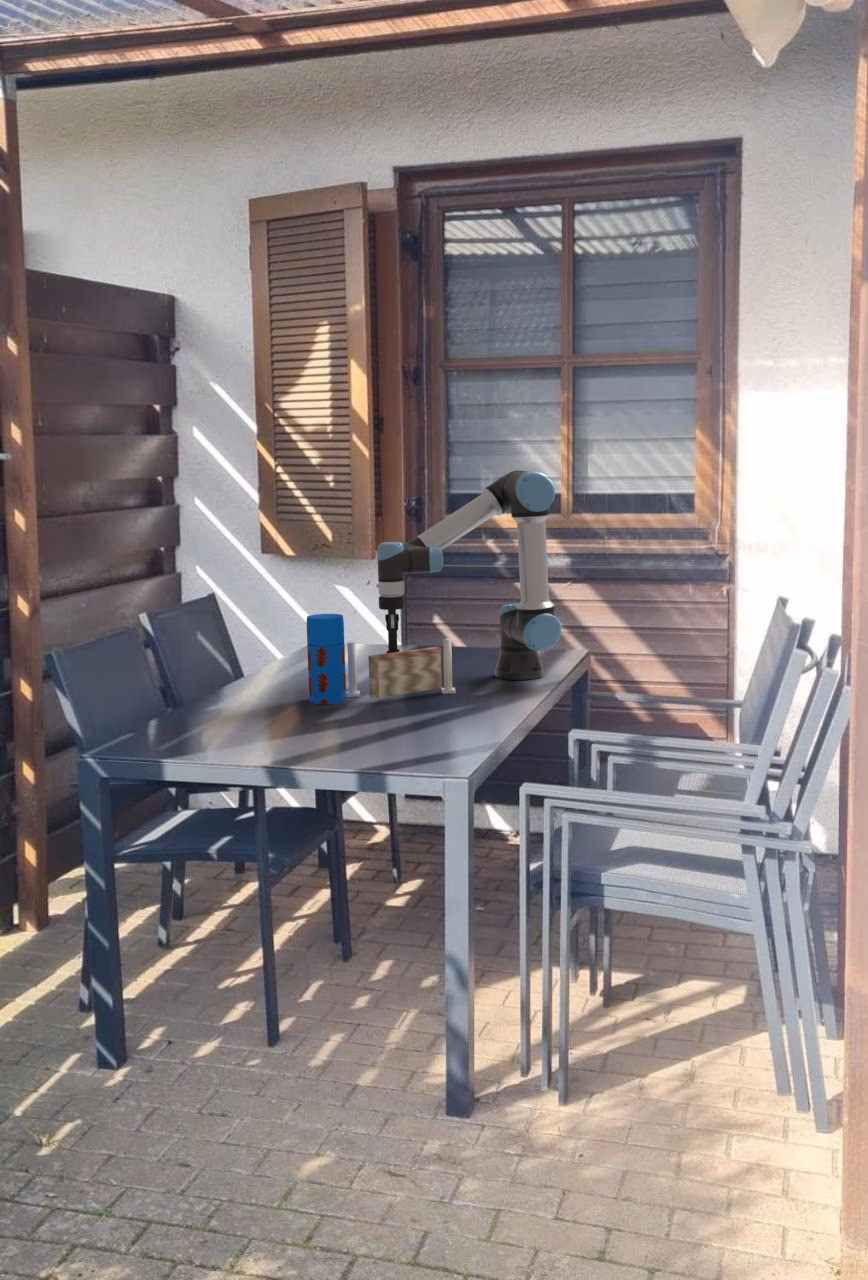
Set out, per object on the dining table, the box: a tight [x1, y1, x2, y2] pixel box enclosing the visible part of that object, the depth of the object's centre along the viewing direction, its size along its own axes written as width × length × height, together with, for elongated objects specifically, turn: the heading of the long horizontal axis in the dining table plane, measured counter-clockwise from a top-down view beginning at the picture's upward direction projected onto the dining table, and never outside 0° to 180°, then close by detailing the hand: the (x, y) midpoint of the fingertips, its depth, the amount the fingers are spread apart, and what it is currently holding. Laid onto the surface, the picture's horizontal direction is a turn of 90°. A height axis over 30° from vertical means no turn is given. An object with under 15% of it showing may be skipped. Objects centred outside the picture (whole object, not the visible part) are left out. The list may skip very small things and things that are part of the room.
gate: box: [368, 646, 442, 700], centre depth 405 cm, size 24×2×12 cm, turn 124°
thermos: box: [305, 613, 347, 705], centre depth 403 cm, size 11×11×25 cm
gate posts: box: [346, 638, 457, 698], centre depth 411 cm, size 32×4×16 cm, turn 93°
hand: (393, 674), depth 408 cm, fingers closed
